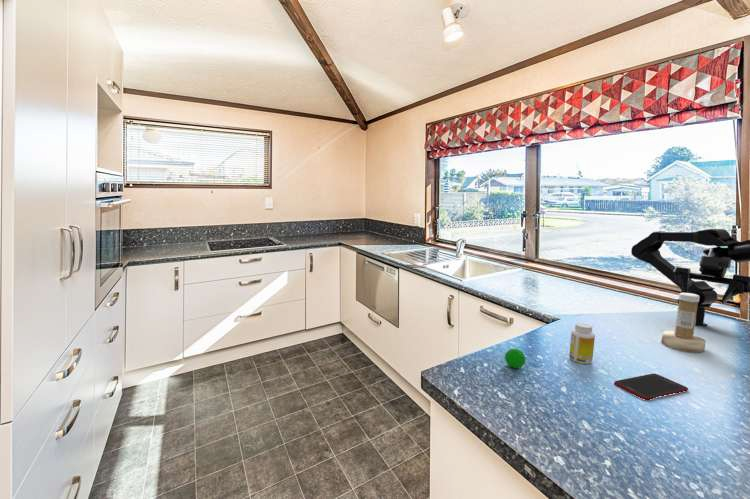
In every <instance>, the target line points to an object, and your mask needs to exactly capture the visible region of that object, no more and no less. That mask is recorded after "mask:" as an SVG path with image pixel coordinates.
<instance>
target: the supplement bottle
mask: <svg viewBox="0 0 750 499" xmlns="http://www.w3.org/2000/svg"><path fill="white" fill-rule="evenodd" d="M570 333H571V334H570V344H569V354H568V356H569V359H570V360H572V361H573V362H575V363H577V364H581V365H582V364H583V365H589V364H591V363H592V362H593V357H594V348H595V340H596V338H595V337H596V335H595V333H594V332H593V326H592V325H591V324H589V323H585V322H576V323H575V327H574V328H573V329H572V330H571V332H570Z"/></svg>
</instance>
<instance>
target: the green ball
mask: <svg viewBox="0 0 750 499" xmlns="http://www.w3.org/2000/svg"><path fill="white" fill-rule="evenodd" d="M504 360H505V362H506V364H507V366H510V367H511V368H512V367H513V368H512V369H519V368H522V367H523V366H524V365H525V364H526V357H525V354H524V352H523V351H522V350H520V349H518V348H511V349H508V350H507V351H506V352H505V354H504Z"/></svg>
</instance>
